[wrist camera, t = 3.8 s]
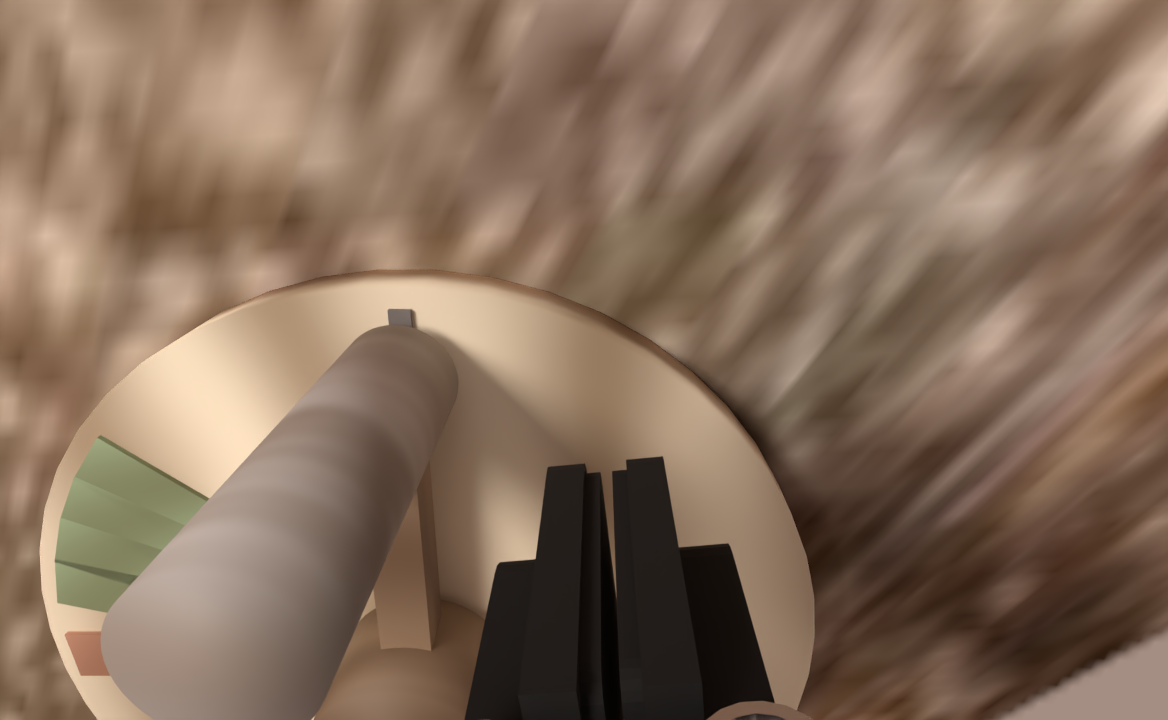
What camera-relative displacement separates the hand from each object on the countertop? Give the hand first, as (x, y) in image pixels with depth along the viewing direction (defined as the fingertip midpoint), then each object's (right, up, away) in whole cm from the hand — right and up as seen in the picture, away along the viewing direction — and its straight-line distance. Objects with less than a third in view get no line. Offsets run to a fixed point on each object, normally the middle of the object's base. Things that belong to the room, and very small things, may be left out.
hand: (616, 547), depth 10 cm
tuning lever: (-5, -2, +7) cm, 9 cm away
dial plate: (-5, -5, +10) cm, 12 cm away
